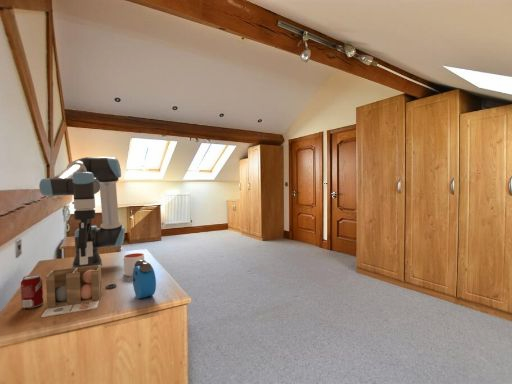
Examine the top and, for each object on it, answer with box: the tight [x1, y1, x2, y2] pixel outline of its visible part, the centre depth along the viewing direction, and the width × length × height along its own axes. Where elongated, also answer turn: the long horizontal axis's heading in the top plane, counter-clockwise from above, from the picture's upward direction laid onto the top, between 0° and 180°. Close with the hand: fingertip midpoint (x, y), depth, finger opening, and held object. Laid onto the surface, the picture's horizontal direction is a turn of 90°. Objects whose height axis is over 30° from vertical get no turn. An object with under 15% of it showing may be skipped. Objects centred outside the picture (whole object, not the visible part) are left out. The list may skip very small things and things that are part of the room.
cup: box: [123, 252, 145, 277], centre depth 153 cm, size 10×10×10 cm
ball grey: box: [55, 286, 67, 302], centre depth 117 cm, size 6×6×6 cm
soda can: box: [20, 273, 44, 309], centre depth 114 cm, size 7×7×12 cm
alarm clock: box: [132, 259, 157, 299], centre depth 121 cm, size 13×6×15 cm, turn 38°
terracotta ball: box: [80, 284, 92, 299], centre depth 118 cm, size 6×6×6 cm
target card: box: [40, 301, 100, 318], centre depth 110 cm, size 7×18×1 cm, turn 113°
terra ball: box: [82, 269, 94, 284], centre depth 121 cm, size 6×6×6 cm
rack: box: [45, 264, 103, 309], centre depth 118 cm, size 9×18×13 cm, turn 113°
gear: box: [105, 283, 117, 290], centre depth 133 cm, size 4×4×1 cm
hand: (86, 260), depth 120 cm, fingers open, 13 cm apart
